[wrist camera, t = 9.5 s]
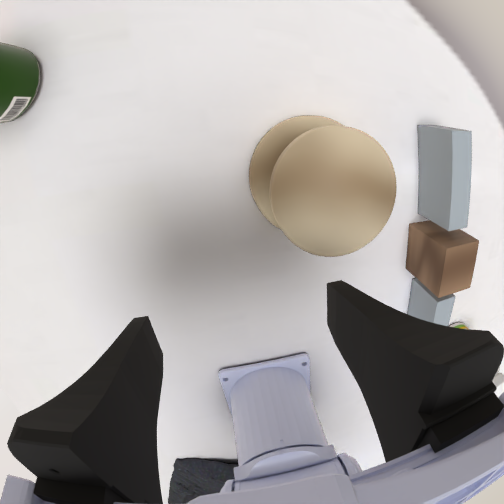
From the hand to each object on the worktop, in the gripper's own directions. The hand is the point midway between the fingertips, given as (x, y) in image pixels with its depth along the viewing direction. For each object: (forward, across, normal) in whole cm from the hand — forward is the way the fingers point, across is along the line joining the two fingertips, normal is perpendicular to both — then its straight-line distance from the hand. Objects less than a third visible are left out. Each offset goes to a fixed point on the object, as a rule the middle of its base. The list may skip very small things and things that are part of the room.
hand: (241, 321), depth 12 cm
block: (+10, -16, +4) cm, 19 cm away
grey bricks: (+10, -16, +4) cm, 19 cm away
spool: (+10, -6, -3) cm, 12 cm away
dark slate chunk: (+11, +9, +39) cm, 42 cm away
